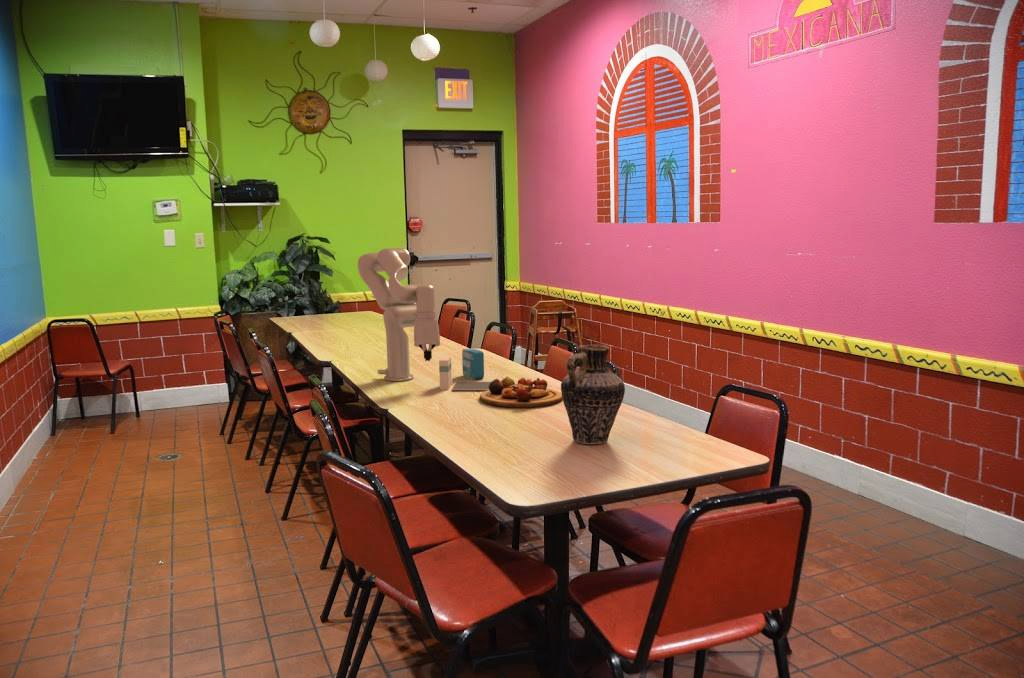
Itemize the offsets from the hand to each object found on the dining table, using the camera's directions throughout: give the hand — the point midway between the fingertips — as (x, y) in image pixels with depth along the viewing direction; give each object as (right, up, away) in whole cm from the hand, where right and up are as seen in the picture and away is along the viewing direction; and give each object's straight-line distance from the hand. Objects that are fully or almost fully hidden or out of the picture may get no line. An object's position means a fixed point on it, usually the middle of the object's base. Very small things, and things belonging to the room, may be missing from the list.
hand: (427, 360), depth 331 cm
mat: (+20, -11, +1) cm, 23 cm away
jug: (+59, -23, -81) cm, 103 cm away
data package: (+18, -8, +22) cm, 29 cm away
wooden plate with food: (+38, -15, -21) cm, 46 cm away
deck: (+7, -11, +2) cm, 13 cm away
